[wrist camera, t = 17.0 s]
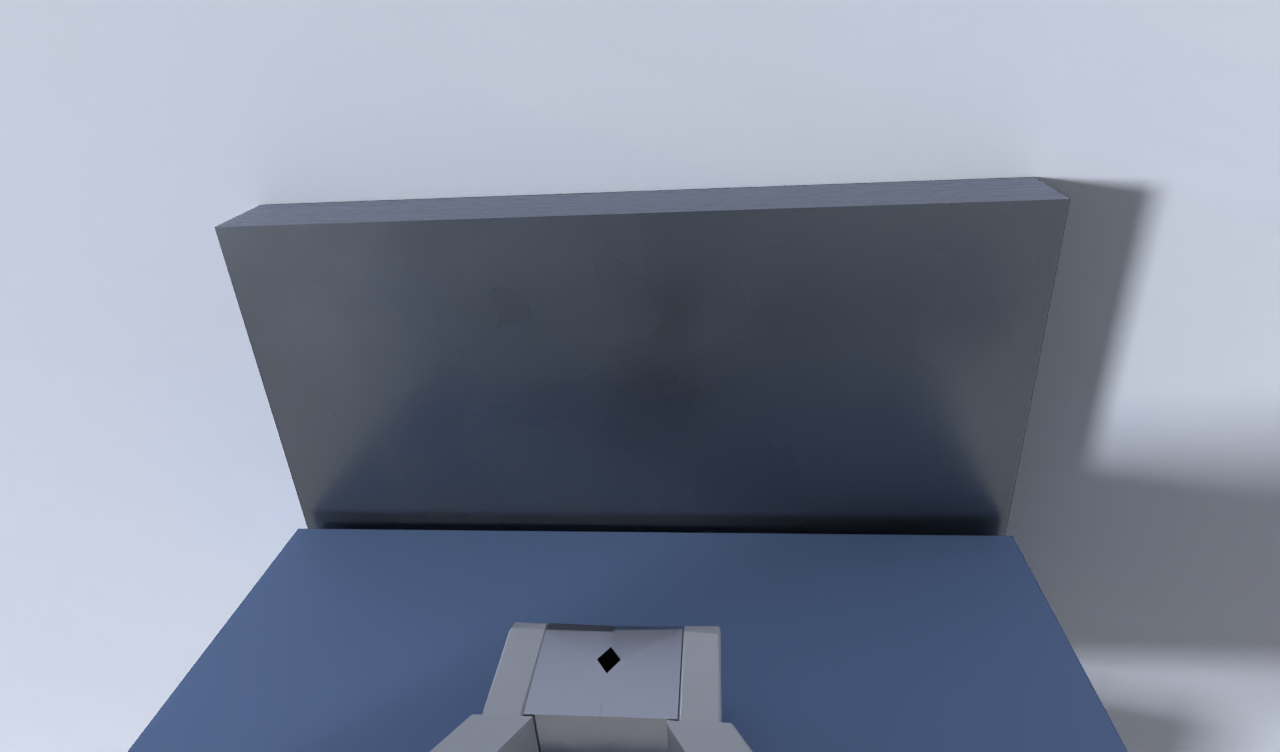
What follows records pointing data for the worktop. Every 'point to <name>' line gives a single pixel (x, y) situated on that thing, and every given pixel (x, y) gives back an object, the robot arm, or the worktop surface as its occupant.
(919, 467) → the base
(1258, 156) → the worktop surface
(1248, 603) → the worktop surface
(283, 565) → the sliding jaw
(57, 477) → the worktop surface
